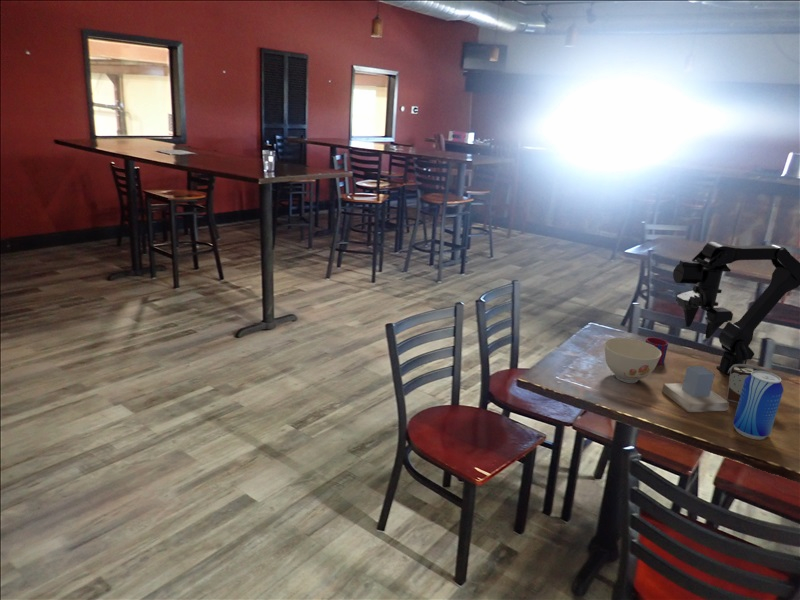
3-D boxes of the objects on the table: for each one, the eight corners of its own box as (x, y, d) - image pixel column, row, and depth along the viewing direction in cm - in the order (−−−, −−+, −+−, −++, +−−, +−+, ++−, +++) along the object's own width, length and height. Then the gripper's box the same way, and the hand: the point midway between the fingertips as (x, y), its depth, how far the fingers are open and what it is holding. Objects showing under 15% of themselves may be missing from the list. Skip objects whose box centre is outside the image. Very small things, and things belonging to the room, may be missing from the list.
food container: (770, 402, 167) (779, 370, 163) (770, 411, 161) (779, 378, 158) (721, 390, 172) (729, 359, 169) (720, 398, 167) (729, 366, 164)
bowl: (599, 384, 171) (605, 353, 168) (598, 363, 186) (604, 334, 183) (657, 394, 167) (664, 363, 164) (652, 372, 182) (658, 342, 178)
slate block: (697, 388, 167) (702, 366, 165) (709, 396, 162) (714, 374, 160) (681, 388, 166) (687, 366, 164) (693, 397, 161) (698, 374, 159)
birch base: (698, 390, 171) (700, 382, 171) (727, 410, 160) (729, 402, 160) (662, 391, 169) (663, 383, 168) (688, 412, 158) (690, 404, 157)
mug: (638, 359, 190) (642, 340, 188) (649, 351, 198) (653, 333, 195) (659, 366, 186) (664, 347, 184) (670, 358, 193) (674, 339, 191)
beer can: (759, 444, 144) (777, 386, 139) (725, 429, 151) (740, 373, 145) (774, 435, 149) (791, 379, 144) (741, 420, 155) (756, 366, 150)
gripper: (666, 275, 183) (656, 321, 188) (705, 294, 165) (693, 344, 170) (697, 275, 185) (686, 321, 190) (739, 294, 167) (727, 344, 172)
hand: (697, 332), depth 181 cm, fingers open, 9 cm apart
